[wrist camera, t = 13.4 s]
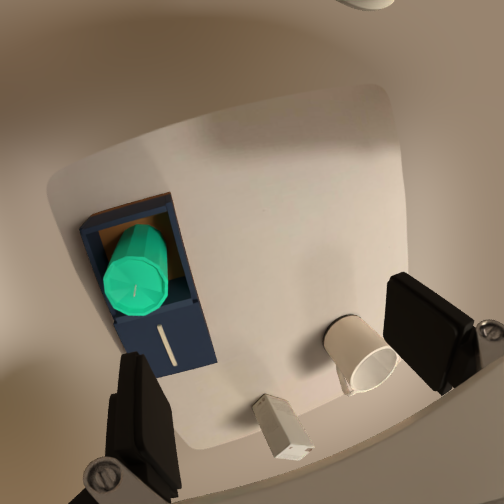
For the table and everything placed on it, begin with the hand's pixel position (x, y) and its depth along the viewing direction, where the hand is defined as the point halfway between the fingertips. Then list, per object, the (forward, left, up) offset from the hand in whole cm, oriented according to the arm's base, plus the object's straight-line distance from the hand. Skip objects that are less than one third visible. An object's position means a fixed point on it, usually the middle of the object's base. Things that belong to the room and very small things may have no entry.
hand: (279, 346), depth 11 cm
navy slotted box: (+8, -8, -29) cm, 31 cm away
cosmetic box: (+38, +4, -29) cm, 48 cm away
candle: (+4, -8, -27) cm, 29 cm away
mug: (+28, +18, -29) cm, 44 cm away
